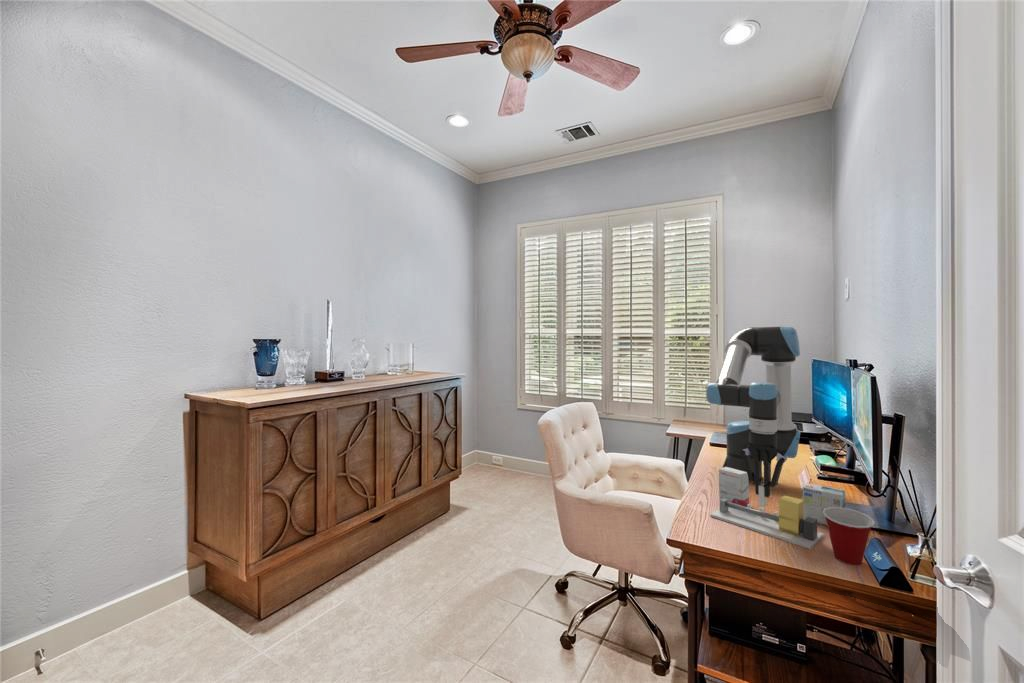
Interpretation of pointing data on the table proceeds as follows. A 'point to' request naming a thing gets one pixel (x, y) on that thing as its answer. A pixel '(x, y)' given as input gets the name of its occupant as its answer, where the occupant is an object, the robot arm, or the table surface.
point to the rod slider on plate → (767, 523)
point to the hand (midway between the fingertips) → (762, 505)
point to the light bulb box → (821, 500)
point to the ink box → (734, 486)
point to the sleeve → (790, 514)
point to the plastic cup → (848, 533)
